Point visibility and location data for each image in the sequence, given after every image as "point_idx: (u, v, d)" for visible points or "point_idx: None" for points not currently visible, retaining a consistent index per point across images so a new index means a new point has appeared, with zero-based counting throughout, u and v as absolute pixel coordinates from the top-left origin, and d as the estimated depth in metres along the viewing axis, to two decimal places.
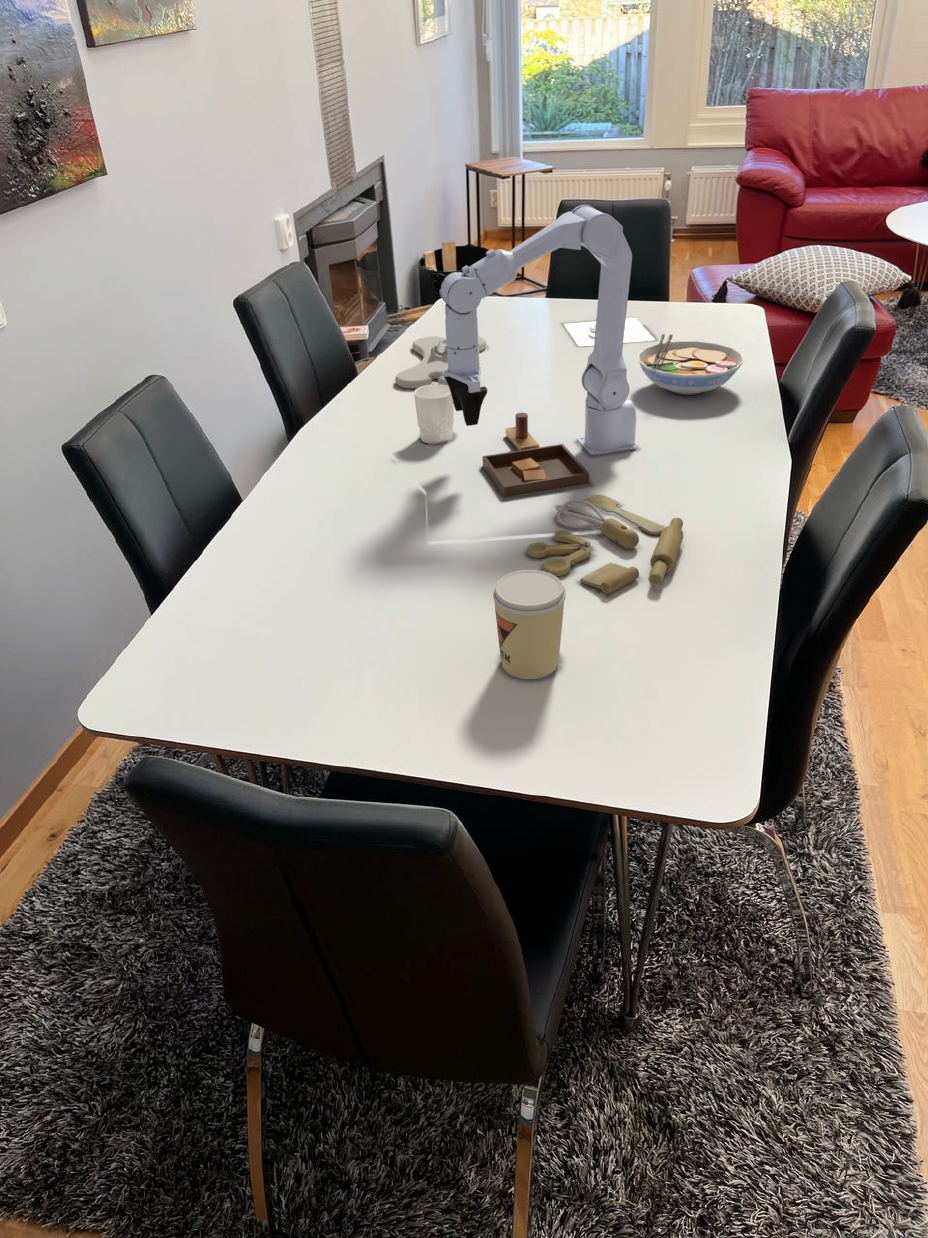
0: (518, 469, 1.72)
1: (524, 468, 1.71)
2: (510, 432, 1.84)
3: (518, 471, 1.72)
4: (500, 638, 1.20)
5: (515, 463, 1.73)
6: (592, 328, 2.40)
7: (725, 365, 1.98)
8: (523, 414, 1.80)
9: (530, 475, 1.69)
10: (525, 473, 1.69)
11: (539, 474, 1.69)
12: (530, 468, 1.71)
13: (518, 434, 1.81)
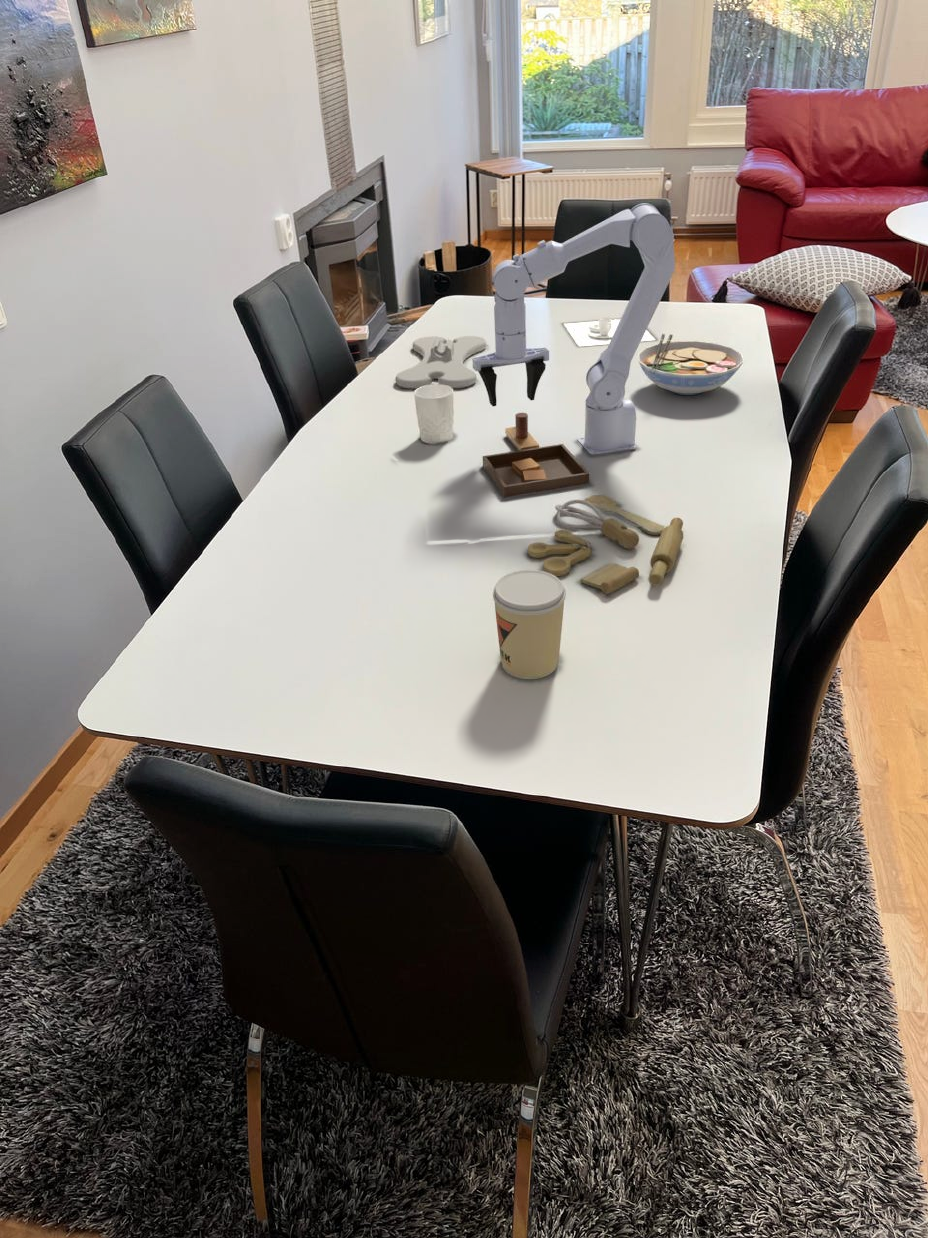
0: (518, 469, 1.72)
1: (524, 468, 1.71)
2: (510, 432, 1.84)
3: (518, 471, 1.72)
4: (500, 638, 1.20)
5: (515, 463, 1.73)
6: (592, 328, 2.40)
7: (725, 365, 1.98)
8: (523, 414, 1.80)
9: (530, 475, 1.69)
10: (525, 473, 1.69)
11: (539, 474, 1.69)
12: (530, 468, 1.71)
13: (518, 434, 1.81)
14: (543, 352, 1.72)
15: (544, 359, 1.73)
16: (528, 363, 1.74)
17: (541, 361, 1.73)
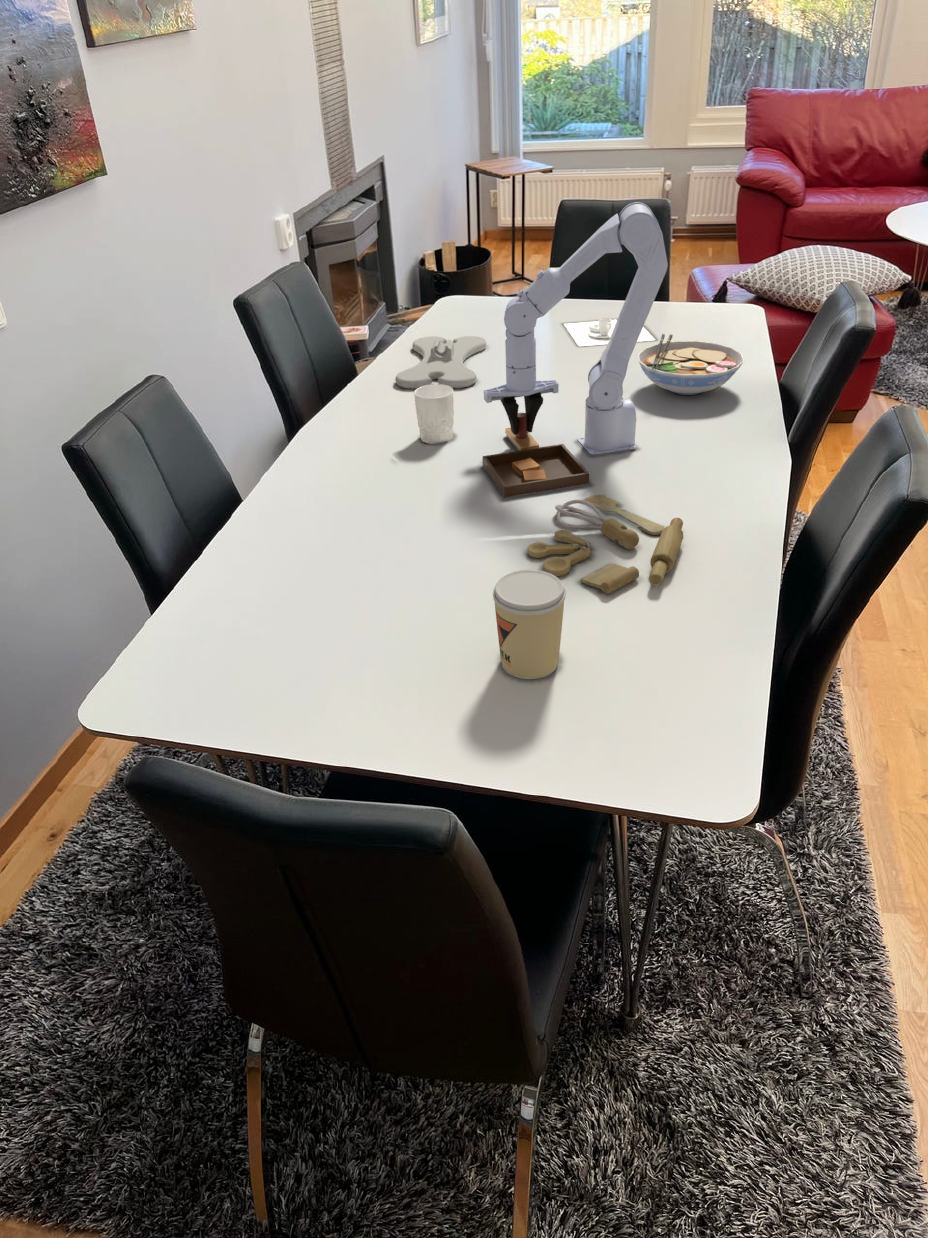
0: (518, 469, 1.72)
1: (524, 468, 1.71)
2: (510, 432, 1.84)
3: (518, 471, 1.72)
4: (500, 638, 1.20)
5: (515, 463, 1.73)
6: (592, 328, 2.40)
7: (725, 365, 1.98)
8: (523, 414, 1.80)
9: (530, 475, 1.69)
10: (525, 473, 1.69)
11: (539, 474, 1.69)
12: (530, 468, 1.71)
13: (518, 434, 1.81)
14: (552, 385, 1.77)
15: (553, 391, 1.78)
16: (526, 396, 1.79)
17: (539, 395, 1.78)
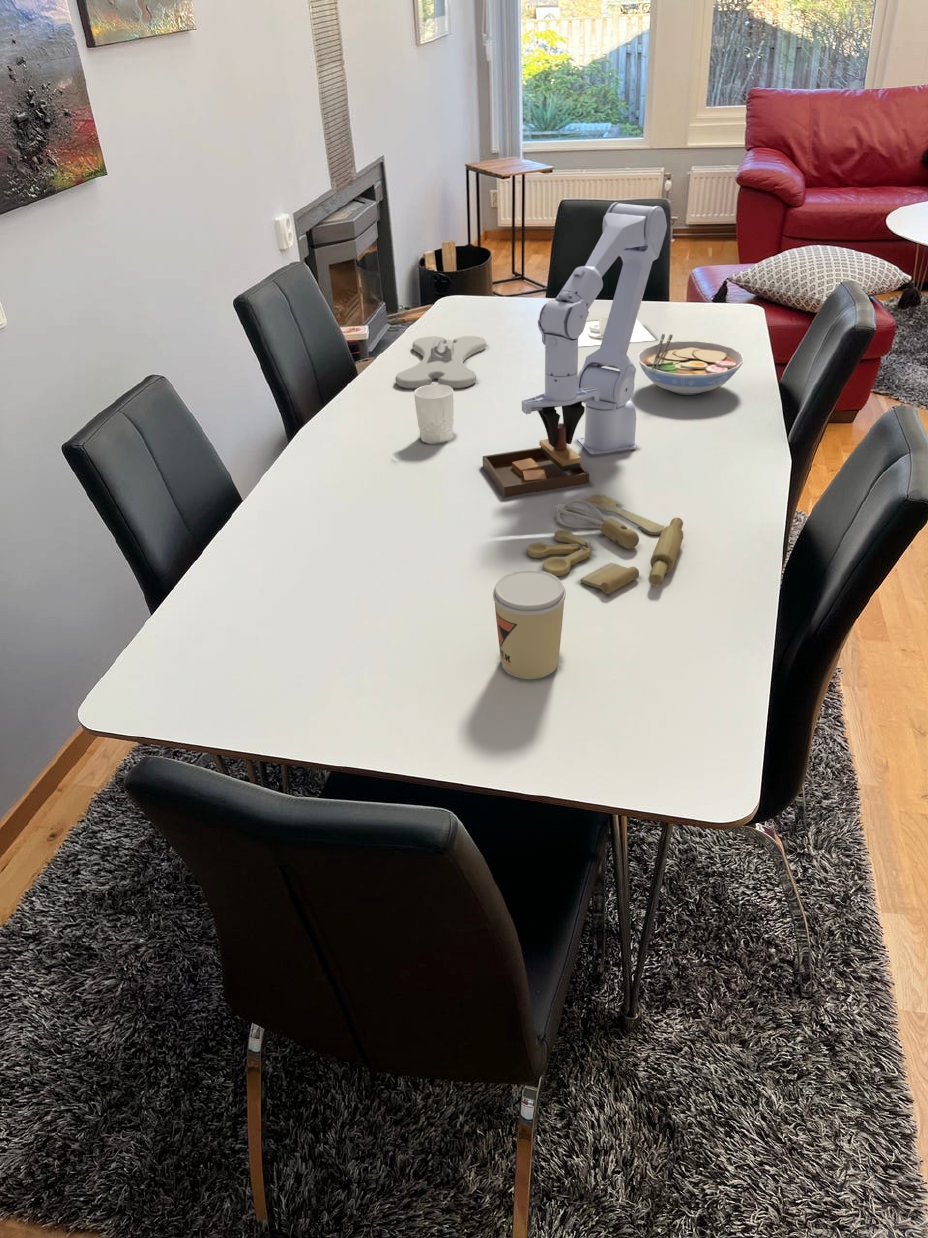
0: (518, 469, 1.72)
1: (524, 468, 1.71)
2: (546, 444, 1.72)
3: (518, 471, 1.72)
4: (500, 638, 1.20)
5: (515, 463, 1.73)
6: (592, 328, 2.40)
7: (725, 365, 1.98)
8: (562, 425, 1.68)
9: (530, 475, 1.69)
10: (525, 473, 1.69)
11: (539, 474, 1.69)
12: (530, 468, 1.71)
13: (557, 446, 1.69)
14: (594, 392, 1.65)
15: (594, 399, 1.66)
16: (565, 406, 1.67)
17: (579, 404, 1.66)
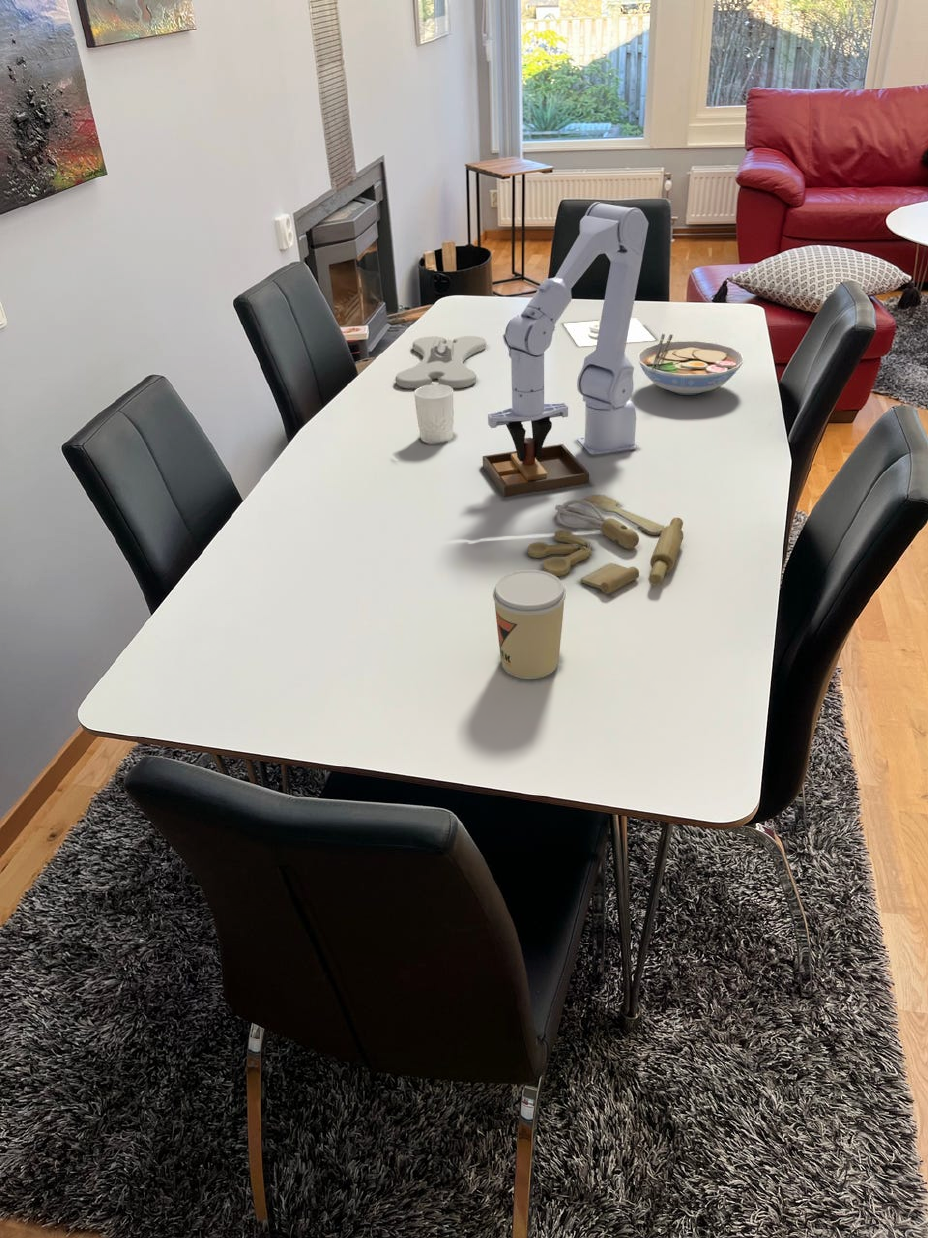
0: (496, 471, 1.72)
1: (501, 470, 1.71)
2: (516, 458, 1.72)
3: None
4: (500, 638, 1.20)
5: (495, 465, 1.73)
6: (592, 328, 2.40)
7: (725, 365, 1.98)
8: (530, 439, 1.68)
9: (510, 479, 1.67)
10: (504, 478, 1.68)
11: (518, 478, 1.68)
12: (507, 471, 1.71)
13: (525, 461, 1.69)
14: (562, 408, 1.65)
15: (563, 415, 1.66)
16: (534, 421, 1.67)
17: (547, 419, 1.65)
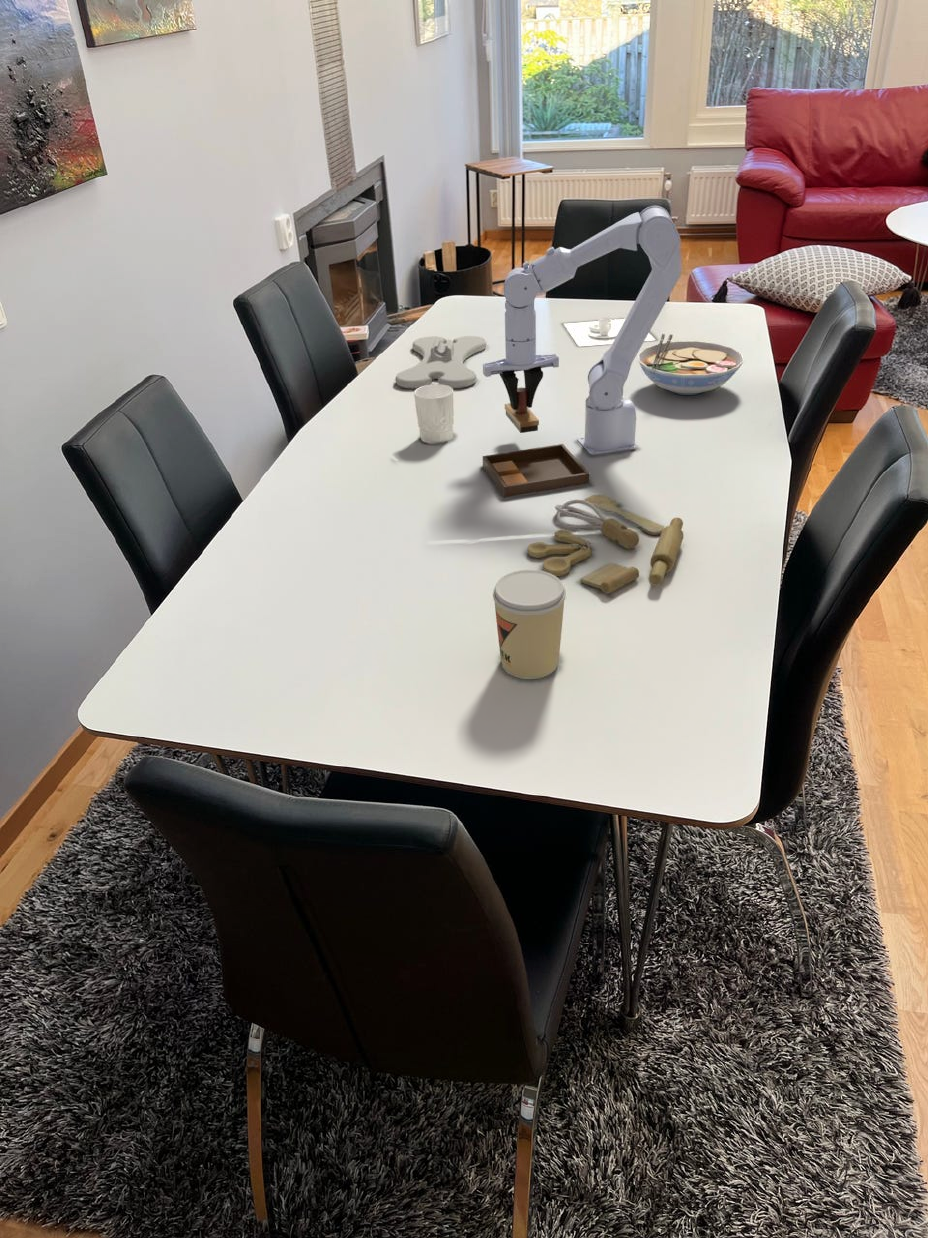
0: (496, 471, 1.72)
1: (501, 470, 1.71)
2: (509, 408, 1.81)
3: None
4: (500, 638, 1.20)
5: (494, 465, 1.73)
6: (592, 328, 2.40)
7: (725, 365, 1.98)
8: (523, 389, 1.77)
9: (510, 479, 1.67)
10: (504, 478, 1.68)
11: (518, 478, 1.68)
12: (507, 471, 1.71)
13: (517, 409, 1.78)
14: (553, 359, 1.74)
15: (554, 365, 1.75)
16: (526, 371, 1.76)
17: (539, 369, 1.75)
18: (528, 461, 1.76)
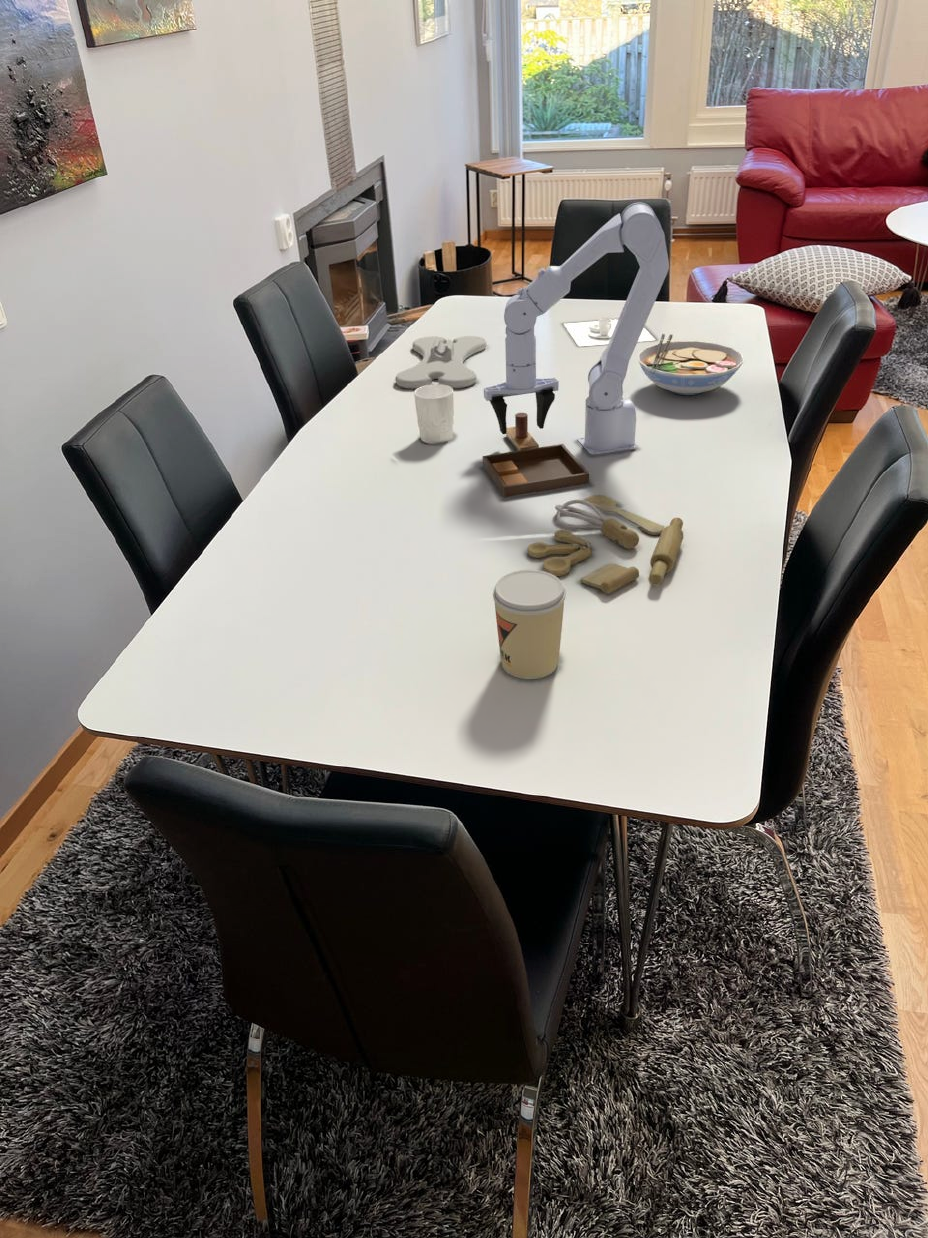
0: (496, 471, 1.72)
1: (501, 470, 1.71)
2: (510, 432, 1.84)
3: None
4: (500, 638, 1.20)
5: (494, 465, 1.73)
6: (592, 328, 2.40)
7: (725, 365, 1.98)
8: (523, 414, 1.80)
9: (510, 479, 1.67)
10: (504, 478, 1.68)
11: (518, 478, 1.68)
12: (507, 471, 1.71)
13: (518, 434, 1.81)
14: (552, 383, 1.77)
15: (553, 389, 1.78)
16: (538, 393, 1.79)
17: (550, 391, 1.78)
18: (528, 461, 1.76)
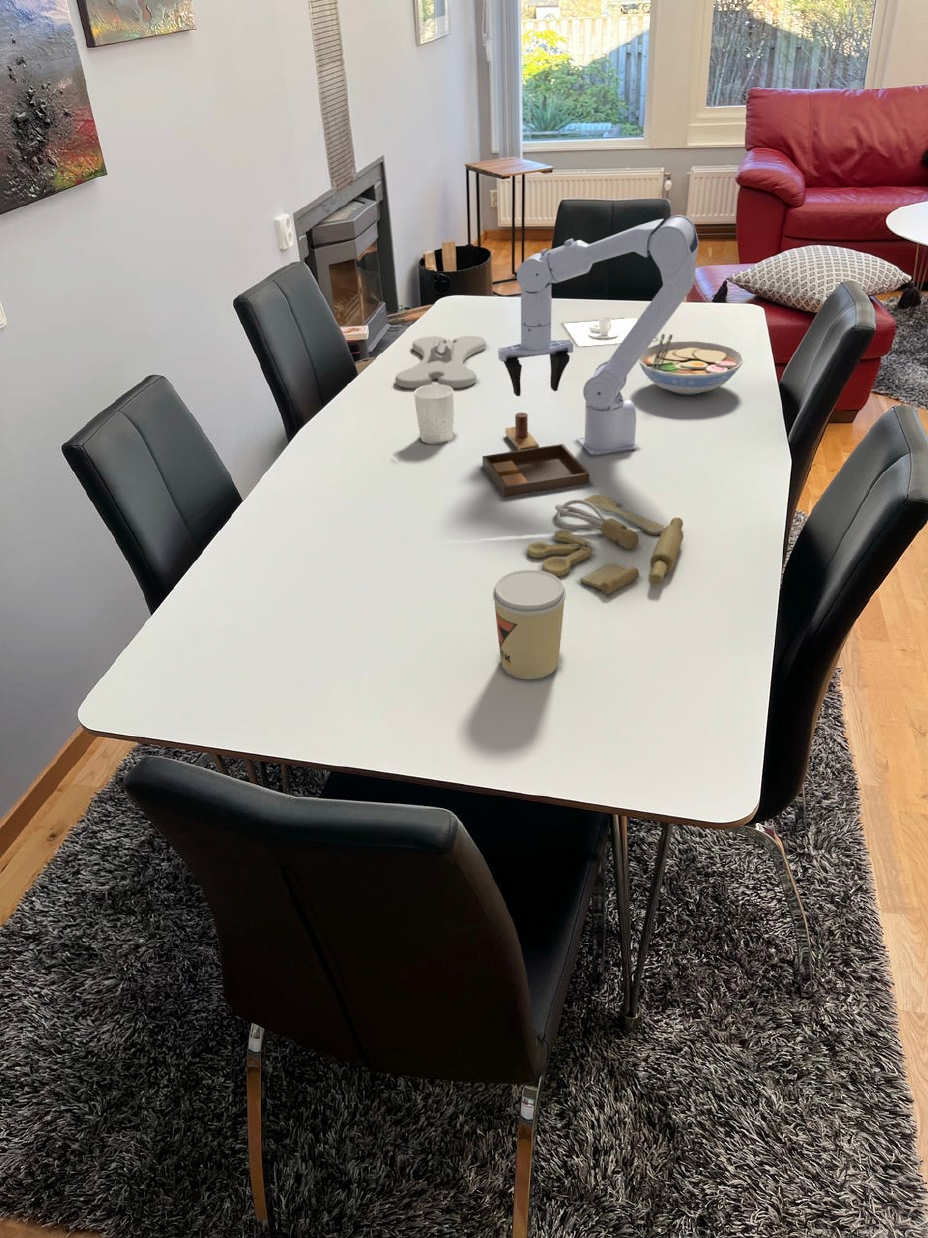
0: (496, 471, 1.72)
1: (501, 470, 1.71)
2: (510, 432, 1.84)
3: None
4: (500, 638, 1.20)
5: (494, 465, 1.73)
6: (592, 328, 2.40)
7: (725, 365, 1.98)
8: (523, 414, 1.80)
9: (510, 479, 1.67)
10: (504, 478, 1.68)
11: (518, 478, 1.68)
12: (507, 471, 1.71)
13: (518, 434, 1.81)
14: (567, 344, 1.76)
15: (568, 351, 1.77)
16: (552, 354, 1.78)
17: (565, 353, 1.77)
18: (528, 461, 1.76)
